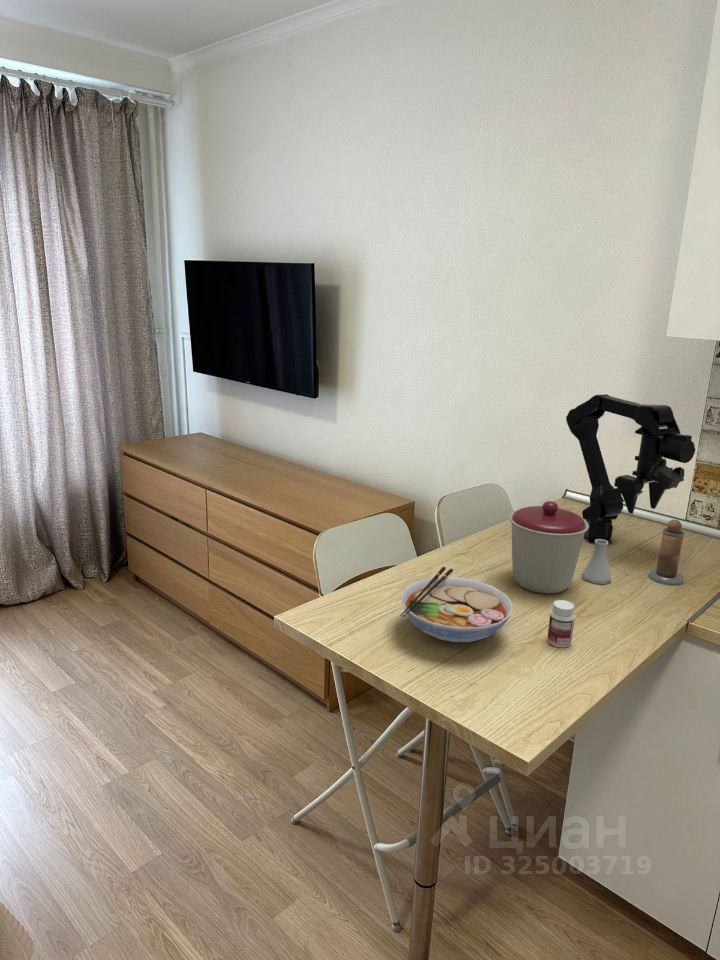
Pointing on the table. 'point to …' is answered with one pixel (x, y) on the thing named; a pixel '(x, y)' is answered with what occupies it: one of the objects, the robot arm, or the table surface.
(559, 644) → the pill bottle
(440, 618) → the ramen bowl
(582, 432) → the robot arm
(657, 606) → the table surface
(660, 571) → the pepper mill
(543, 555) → the canister
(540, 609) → the table surface
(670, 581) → the slate coaster
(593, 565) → the flask
